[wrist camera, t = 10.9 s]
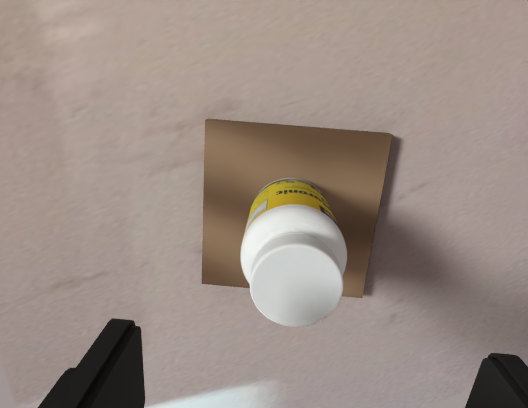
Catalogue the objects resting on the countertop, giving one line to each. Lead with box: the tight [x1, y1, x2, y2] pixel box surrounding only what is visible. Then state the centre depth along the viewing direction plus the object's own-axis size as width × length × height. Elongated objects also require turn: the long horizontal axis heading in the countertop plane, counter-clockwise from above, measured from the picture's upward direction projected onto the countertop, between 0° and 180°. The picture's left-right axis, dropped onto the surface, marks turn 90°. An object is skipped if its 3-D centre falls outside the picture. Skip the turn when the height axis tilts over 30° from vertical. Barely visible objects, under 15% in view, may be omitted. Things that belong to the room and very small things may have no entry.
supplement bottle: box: [241, 178, 347, 327], centre depth 19 cm, size 5×5×10 cm
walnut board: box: [202, 119, 392, 298], centre depth 24 cm, size 12×12×1 cm
